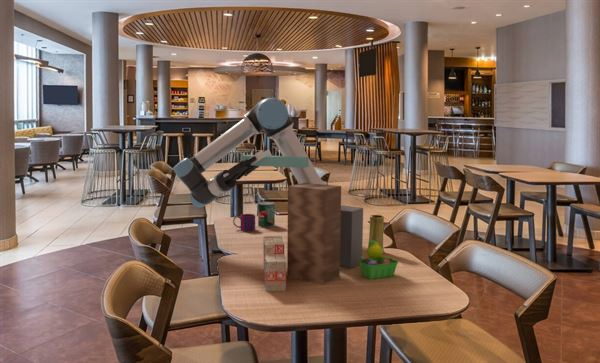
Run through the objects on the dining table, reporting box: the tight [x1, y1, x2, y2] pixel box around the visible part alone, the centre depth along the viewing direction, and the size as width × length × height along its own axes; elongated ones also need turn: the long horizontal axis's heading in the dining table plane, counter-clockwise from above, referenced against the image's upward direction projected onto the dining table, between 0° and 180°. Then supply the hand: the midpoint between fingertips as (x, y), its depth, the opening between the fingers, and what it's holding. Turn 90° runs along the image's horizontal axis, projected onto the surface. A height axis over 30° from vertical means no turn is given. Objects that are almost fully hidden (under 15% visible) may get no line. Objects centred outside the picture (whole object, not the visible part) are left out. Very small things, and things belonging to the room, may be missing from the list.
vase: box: [368, 214, 385, 254], centre depth 207 cm, size 6×6×14 cm
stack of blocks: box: [262, 235, 287, 292], centre depth 171 cm, size 21×6×12 cm, turn 6°
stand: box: [286, 183, 342, 285], centre depth 174 cm, size 14×10×30 cm
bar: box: [241, 154, 310, 168], centre depth 190 cm, size 26×4×4 cm, turn 60°
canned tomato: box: [257, 201, 276, 228], centre depth 255 cm, size 8×8×11 cm
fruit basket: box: [359, 240, 399, 280], centre depth 178 cm, size 11×9×11 cm
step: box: [340, 204, 364, 269], centre depth 191 cm, size 12×9×20 cm
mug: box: [232, 213, 256, 232], centre depth 246 cm, size 7×10×7 cm
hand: (266, 153), depth 191 cm, fingers closed on bar, 3 cm apart
